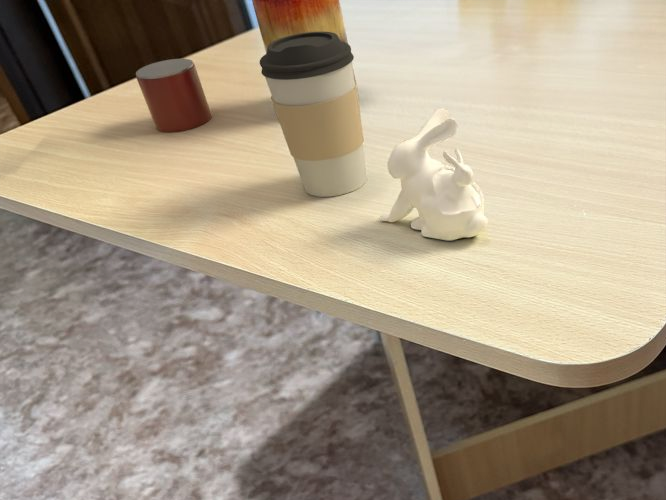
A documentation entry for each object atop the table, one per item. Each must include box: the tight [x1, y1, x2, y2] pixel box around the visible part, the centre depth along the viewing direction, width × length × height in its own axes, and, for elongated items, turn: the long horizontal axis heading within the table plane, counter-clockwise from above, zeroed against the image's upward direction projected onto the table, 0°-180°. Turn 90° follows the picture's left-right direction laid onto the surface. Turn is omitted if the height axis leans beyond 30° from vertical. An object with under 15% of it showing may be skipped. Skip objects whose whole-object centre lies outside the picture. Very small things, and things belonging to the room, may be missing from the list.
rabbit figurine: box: [377, 107, 489, 241], centre depth 63 cm, size 12×8×10 cm, turn 47°
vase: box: [251, 0, 359, 93], centre depth 90 cm, size 11×11×20 cm
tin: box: [135, 58, 213, 133], centre depth 94 cm, size 8×8×7 cm
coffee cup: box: [259, 32, 368, 198], centre depth 70 cm, size 9×9×15 cm
